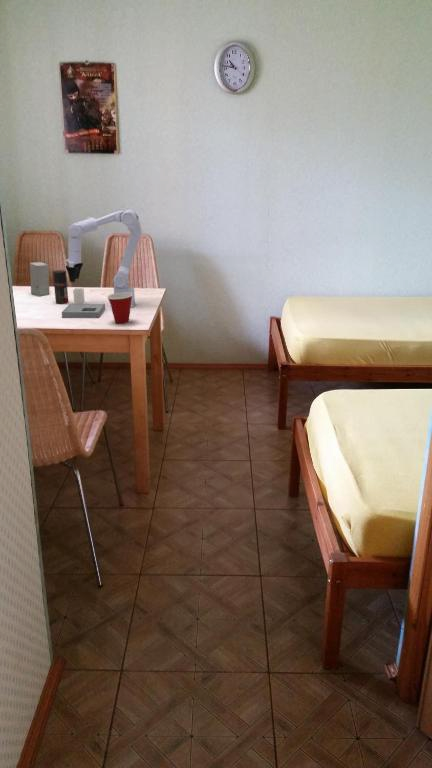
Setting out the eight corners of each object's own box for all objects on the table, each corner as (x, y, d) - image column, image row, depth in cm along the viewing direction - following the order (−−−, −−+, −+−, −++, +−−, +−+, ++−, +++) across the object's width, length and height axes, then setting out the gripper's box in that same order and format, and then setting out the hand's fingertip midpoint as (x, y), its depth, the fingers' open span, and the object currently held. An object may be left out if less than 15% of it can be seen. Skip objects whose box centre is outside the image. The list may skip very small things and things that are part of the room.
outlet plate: (105, 309, 285) (104, 303, 284) (98, 317, 270) (98, 312, 269) (70, 309, 285) (70, 303, 285) (62, 317, 270) (61, 312, 270)
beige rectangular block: (84, 305, 293) (83, 288, 290) (83, 307, 289) (81, 290, 286) (76, 305, 293) (75, 288, 290) (74, 307, 289) (73, 290, 286)
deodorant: (65, 304, 294) (62, 272, 289) (53, 303, 295) (50, 272, 290) (70, 301, 300) (67, 270, 295) (59, 301, 301) (56, 270, 296)
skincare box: (30, 294, 315) (27, 263, 310) (43, 292, 320) (40, 261, 314) (38, 296, 309) (35, 265, 304) (51, 294, 314) (48, 263, 308)
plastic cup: (109, 319, 268) (107, 291, 264) (134, 318, 269) (133, 291, 265) (107, 325, 258) (105, 297, 254) (133, 325, 259) (131, 297, 255)
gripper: (69, 247, 289) (69, 276, 293) (62, 252, 275) (61, 282, 280) (84, 249, 289) (84, 277, 294) (78, 253, 275) (77, 283, 280)
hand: (74, 280), depth 287 cm, fingers open, 7 cm apart
